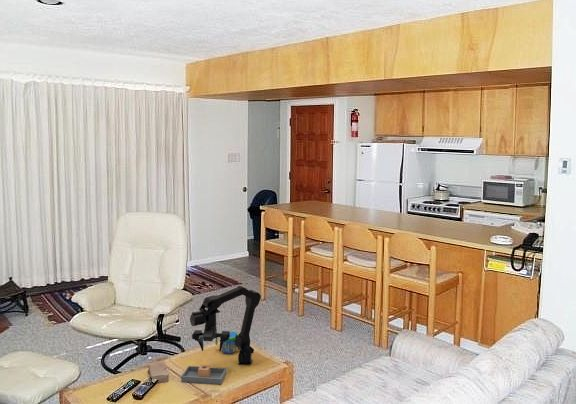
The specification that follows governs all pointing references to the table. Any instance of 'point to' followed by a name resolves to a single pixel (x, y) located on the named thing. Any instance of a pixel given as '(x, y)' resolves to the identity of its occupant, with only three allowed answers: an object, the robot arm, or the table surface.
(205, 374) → the bored block
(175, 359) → the table surface
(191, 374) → the tray
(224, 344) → the snack cup
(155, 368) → the brick
